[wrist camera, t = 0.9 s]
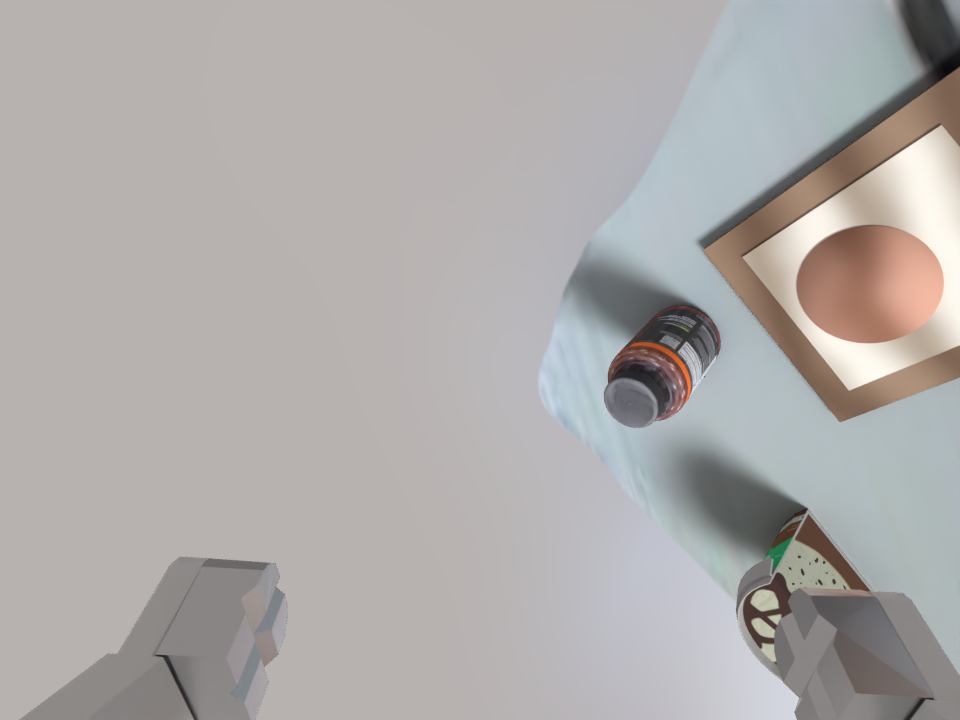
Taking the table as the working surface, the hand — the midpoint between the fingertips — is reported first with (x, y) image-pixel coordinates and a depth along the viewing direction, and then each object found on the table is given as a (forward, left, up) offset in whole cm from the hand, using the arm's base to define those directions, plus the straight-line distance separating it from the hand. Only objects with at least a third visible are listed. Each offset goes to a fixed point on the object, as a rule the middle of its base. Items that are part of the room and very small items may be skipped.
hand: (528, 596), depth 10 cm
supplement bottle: (+18, +4, -39) cm, 43 cm away
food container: (+22, +26, -39) cm, 52 cm away
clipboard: (+3, +7, -39) cm, 40 cm away
